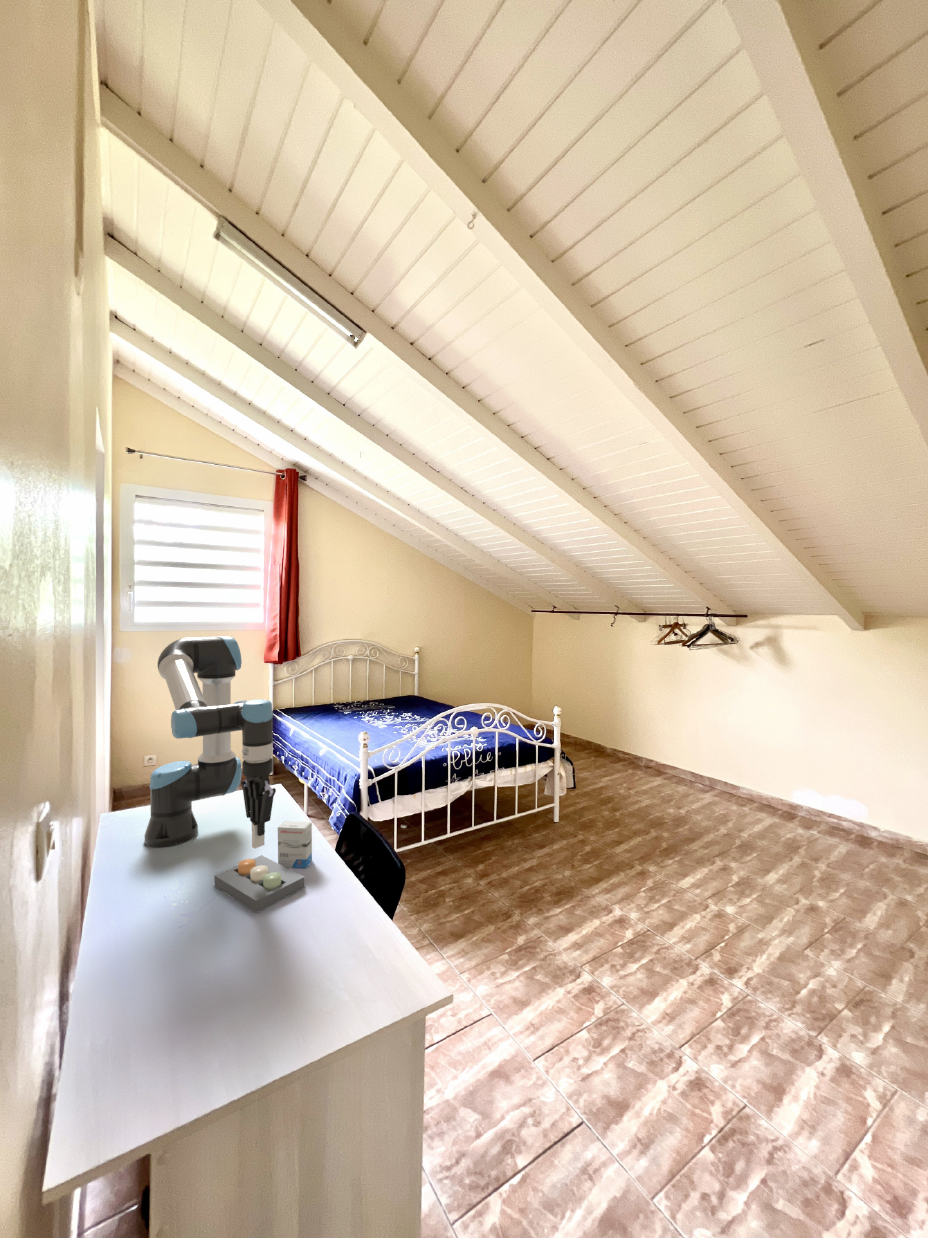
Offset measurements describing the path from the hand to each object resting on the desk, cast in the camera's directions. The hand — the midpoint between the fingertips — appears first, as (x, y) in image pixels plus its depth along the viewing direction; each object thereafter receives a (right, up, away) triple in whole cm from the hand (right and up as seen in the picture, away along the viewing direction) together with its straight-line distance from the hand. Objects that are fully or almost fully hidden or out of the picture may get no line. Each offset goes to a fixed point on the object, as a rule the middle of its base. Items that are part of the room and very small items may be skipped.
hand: (258, 845), depth 140 cm
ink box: (+6, -11, +12) cm, 17 cm away
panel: (0, -11, 0) cm, 11 cm away
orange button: (-4, -10, +3) cm, 12 cm away
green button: (+5, -10, -4) cm, 12 cm away
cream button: (0, -10, 0) cm, 10 cm away
